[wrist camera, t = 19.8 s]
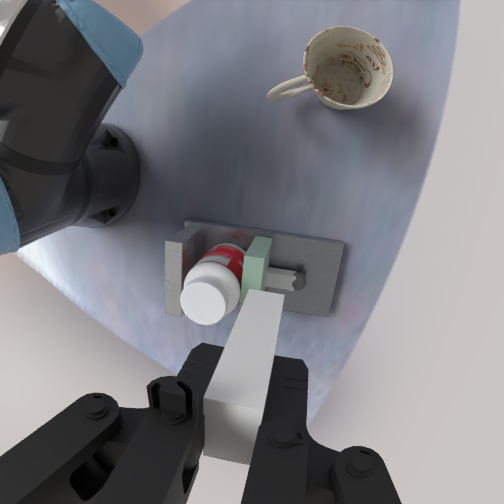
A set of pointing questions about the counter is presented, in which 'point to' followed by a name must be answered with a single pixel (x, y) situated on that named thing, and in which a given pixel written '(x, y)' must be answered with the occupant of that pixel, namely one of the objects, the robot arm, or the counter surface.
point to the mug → (342, 69)
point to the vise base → (281, 257)
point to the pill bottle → (213, 284)
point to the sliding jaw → (266, 271)
